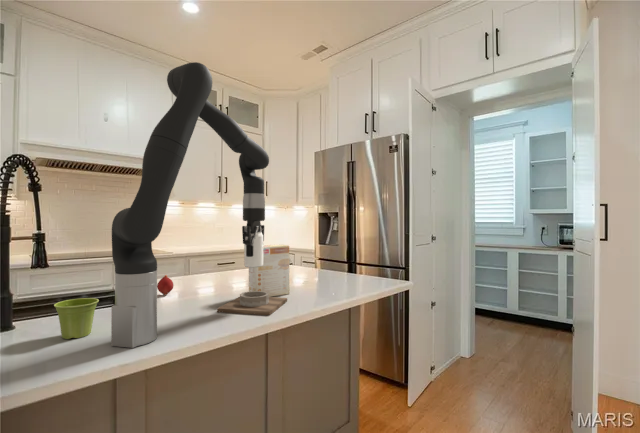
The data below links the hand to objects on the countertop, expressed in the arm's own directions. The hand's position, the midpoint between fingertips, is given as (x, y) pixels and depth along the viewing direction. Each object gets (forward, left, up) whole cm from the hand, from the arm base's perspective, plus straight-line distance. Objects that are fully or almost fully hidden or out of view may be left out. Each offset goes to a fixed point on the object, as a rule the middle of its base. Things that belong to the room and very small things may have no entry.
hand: (253, 255), depth 115 cm
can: (0, 0, -4) cm, 4 cm away
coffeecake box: (+17, +1, -18) cm, 25 cm away
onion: (+8, +41, -18) cm, 45 cm away
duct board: (0, 0, -18) cm, 18 cm away
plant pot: (-36, +34, -18) cm, 53 cm away
